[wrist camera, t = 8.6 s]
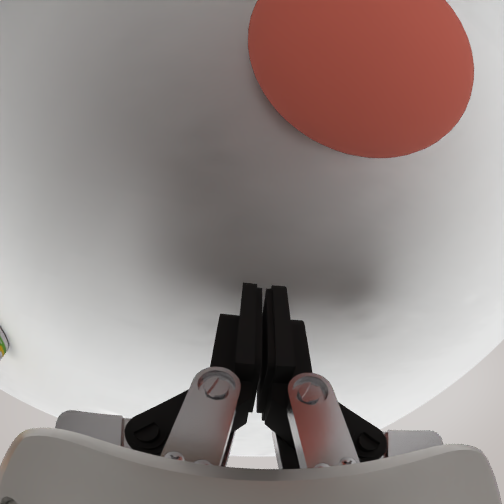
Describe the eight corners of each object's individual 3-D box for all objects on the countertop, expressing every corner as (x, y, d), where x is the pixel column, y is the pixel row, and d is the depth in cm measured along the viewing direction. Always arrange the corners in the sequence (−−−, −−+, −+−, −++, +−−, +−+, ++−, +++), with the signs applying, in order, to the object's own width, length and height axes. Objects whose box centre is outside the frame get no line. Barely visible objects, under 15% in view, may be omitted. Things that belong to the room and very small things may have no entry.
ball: (292, -94, 1) (215, 175, 6) (554, 108, 2) (411, 219, 7) (280, -75, 3) (238, 56, 8) (445, 2, 4) (375, 98, 10)
